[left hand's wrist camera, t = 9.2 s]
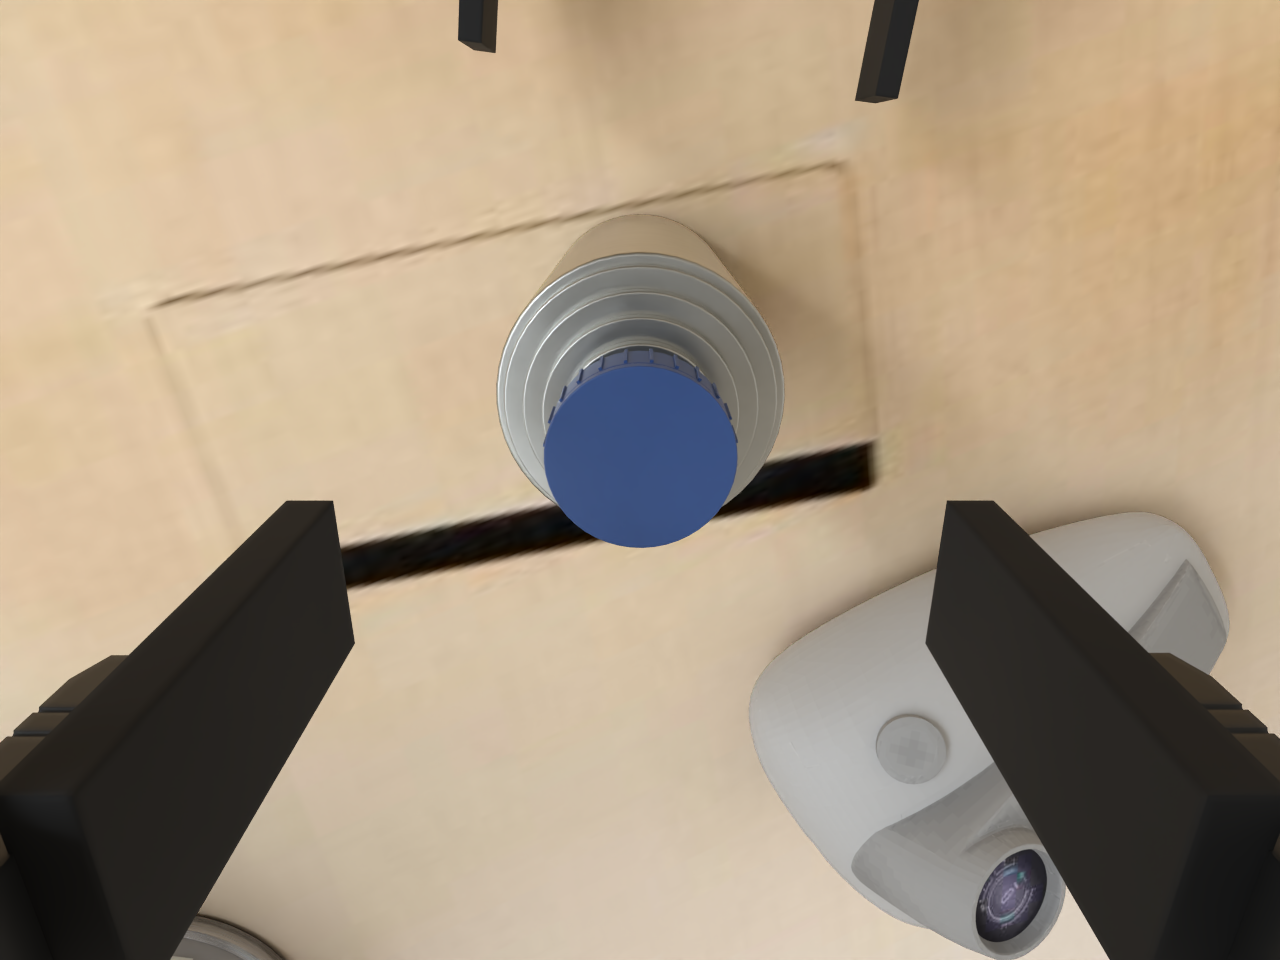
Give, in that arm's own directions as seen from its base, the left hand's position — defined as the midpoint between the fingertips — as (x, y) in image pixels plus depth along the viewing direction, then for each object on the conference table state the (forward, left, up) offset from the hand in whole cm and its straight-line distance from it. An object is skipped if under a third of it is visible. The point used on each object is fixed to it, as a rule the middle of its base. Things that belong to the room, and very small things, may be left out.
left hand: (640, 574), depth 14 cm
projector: (-9, -24, -25) cm, 36 cm away
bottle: (0, 0, -25) cm, 25 cm away
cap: (0, 0, -6) cm, 6 cm away
